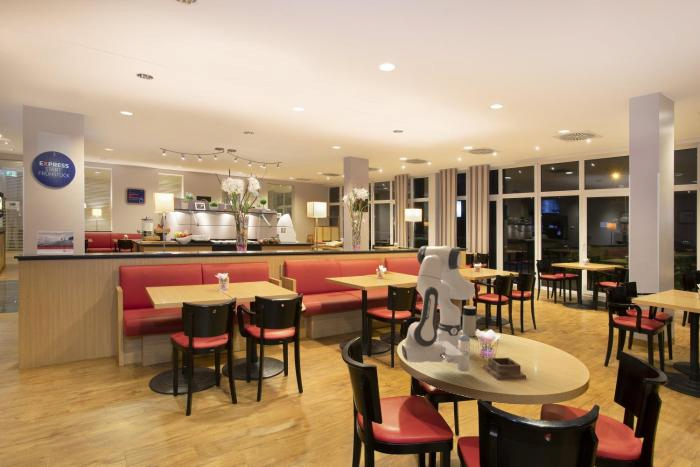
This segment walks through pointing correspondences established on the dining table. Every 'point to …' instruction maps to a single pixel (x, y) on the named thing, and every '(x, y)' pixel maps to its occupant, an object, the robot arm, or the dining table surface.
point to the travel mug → (469, 321)
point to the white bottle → (463, 346)
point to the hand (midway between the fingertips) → (465, 351)
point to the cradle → (504, 369)
